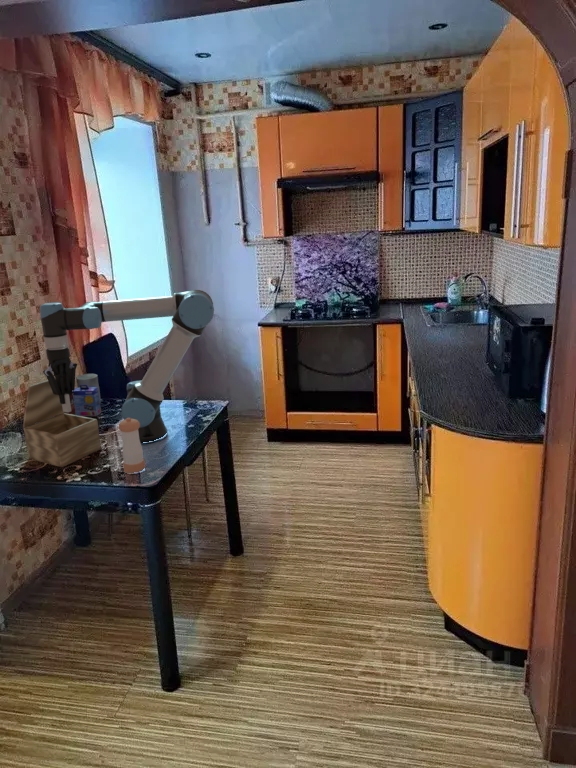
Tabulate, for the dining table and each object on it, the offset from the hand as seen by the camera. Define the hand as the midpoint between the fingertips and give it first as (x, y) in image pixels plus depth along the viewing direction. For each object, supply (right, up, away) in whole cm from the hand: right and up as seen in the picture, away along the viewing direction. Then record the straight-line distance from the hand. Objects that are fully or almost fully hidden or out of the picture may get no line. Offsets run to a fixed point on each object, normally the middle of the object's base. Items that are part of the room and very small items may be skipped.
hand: (67, 411), depth 200 cm
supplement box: (-14, -9, +35) cm, 39 cm away
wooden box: (-4, -16, +7) cm, 18 cm away
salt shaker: (+27, -20, -9) cm, 35 cm away
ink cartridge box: (-10, -4, +51) cm, 52 cm away
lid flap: (-9, +4, +4) cm, 10 cm away
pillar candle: (-15, 0, +66) cm, 68 cm away
